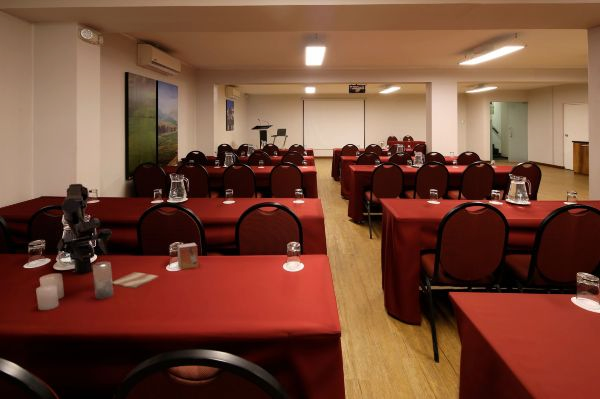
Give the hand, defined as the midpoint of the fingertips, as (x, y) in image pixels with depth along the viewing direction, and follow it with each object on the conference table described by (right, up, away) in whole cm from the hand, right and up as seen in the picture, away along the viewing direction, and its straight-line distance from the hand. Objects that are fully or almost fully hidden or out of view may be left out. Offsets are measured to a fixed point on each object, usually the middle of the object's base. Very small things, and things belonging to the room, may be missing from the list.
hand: (95, 257), depth 145 cm
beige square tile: (+9, -12, +14) cm, 20 cm away
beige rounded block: (-14, -15, -2) cm, 21 cm away
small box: (+27, -9, +30) cm, 41 cm away
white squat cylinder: (-11, -16, -10) cm, 22 cm away
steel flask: (+4, -14, -1) cm, 15 cm away
